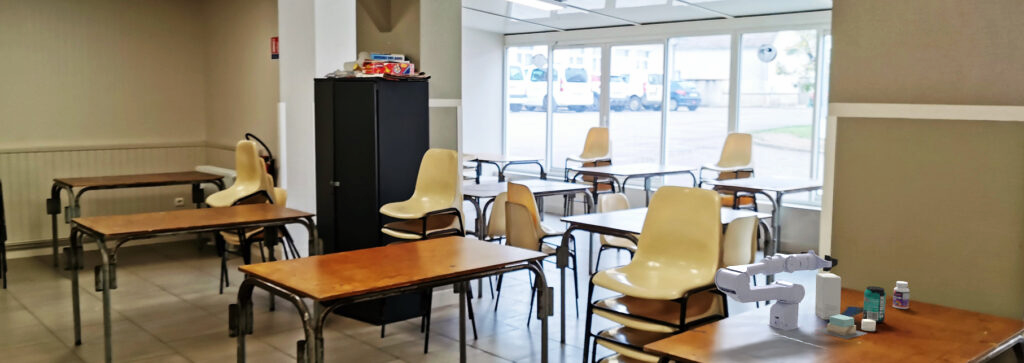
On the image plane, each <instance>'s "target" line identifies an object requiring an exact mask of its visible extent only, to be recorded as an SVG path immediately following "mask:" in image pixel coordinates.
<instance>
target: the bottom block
mask: <svg viewBox="0 0 1024 363" xmlns="http://www.w3.org/2000/svg"><path fill="white" fill-rule="evenodd" d="M829 323H830V322H829ZM829 323H827V324H826V327H827V331H829V332H832V333H836V334H840V335H844V336H845V335H849V334H853V333H856V331H857V325H855V324H854V325H853V326H849V327H845V328H843V327H840V326H836V325H832V324H829Z"/></svg>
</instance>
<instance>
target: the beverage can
mask: <svg viewBox="0 0 1024 363" xmlns="http://www.w3.org/2000/svg"><path fill="white" fill-rule="evenodd" d="M863 295H864V296H863V312H862V319H870V320H874V321H876V324H877V323H878V324H882V323H883V322H885V315H886V299H887V293H886V292H885V288H884V287H880V286H871V285H870V286H866V288H865V290H864V293H863Z"/></svg>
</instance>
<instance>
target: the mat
mask: <svg viewBox="0 0 1024 363" xmlns="http://www.w3.org/2000/svg"><path fill="white" fill-rule="evenodd" d="M814 331H816V332H820V333H822V334H827V335H830V336H835V337H838V338H841V339H845V340H849V339H852V338H853V339H854V338H857V337H860V336H864V335H867V334H868V332H863V331H859V330H856V333H853V334H849V335H845V336H844V335H840V334H836V333H832V332H829V331H827V326H826V327H822V328H818V329H815V330H814Z"/></svg>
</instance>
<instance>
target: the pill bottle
mask: <svg viewBox="0 0 1024 363" xmlns="http://www.w3.org/2000/svg"><path fill="white" fill-rule="evenodd" d="M908 286H909V283H908V281H903V280H902V281H901V280H897V281H896V282H895V287H894V288H893V297H892V298H893V299H892V307H893V308H895V309H901V310H907V309H909V303H910V288H908Z"/></svg>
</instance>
